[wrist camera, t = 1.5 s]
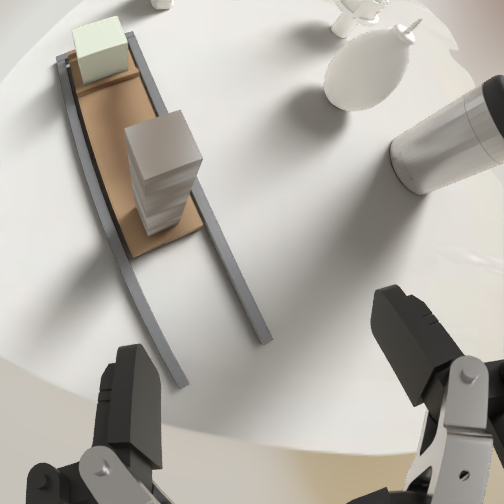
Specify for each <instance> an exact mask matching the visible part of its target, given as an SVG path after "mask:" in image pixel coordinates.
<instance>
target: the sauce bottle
mask: <svg viewBox="0 0 504 504" xmlns="http://www.w3.org/2000/svg"><path fill="white" fill-rule="evenodd" d="M421 20H422V19H419V20H417V21H416V22H415V23H413V24H412V25H411V26H410V27H408V28H406V27H404V26H403V25H400V24H397V25H395V26H394V28H379V29H375V30H372V31H369V32H366V33H364V34H362V35H360V36H357V37H356V38H354V39H352V40H351V41H349V42H348V43H346V44H345V45H344V46H343V47H342V48H341V49H340V50H339V51H338V52H337V53H336V54H335V56H334V57H333V58H332V60H331V61H330V63H329V65H328V68H327V70H326V73H325V78H324V91H325V94H326V96H327V98H328V99H329V101H330V102H331V103H332V104H333V105H334V106H336V107H338V108H340V109H342V110H345V111H362V110H365V109H368V108H371V107H373V106H375V105H377V104H379V103H380V102H382V101H383V100H384V99H385V98H386V97H388V96H389V95H390V94H391V93H392V92H393V91H394V89H395V88H396V87H397V85H398V84H399V83H400V81H401V79H402V77H403V75H404V73H405V71H406V69H407V66H408V64H409V60H410V56H411V45H413V44H414V42H415V38H414V36H413V34H412V33H411V31H412V30H413V29H414V28H415V27H416V26H417V25H418V24H419V23H420V22H421Z"/></svg>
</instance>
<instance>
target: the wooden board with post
mask: <svg viewBox="0 0 504 504" xmlns="http://www.w3.org/2000/svg"><path fill="white" fill-rule="evenodd" d="M67 54H68V59H69V63H70V68H71V72H72V76H73V81H74V85H75V89H76V93H77V97H78V100H79V104H80V108H81V112H82V115H83V119H84V122H85V126H86V129H87V133H88V136H89V139H90V142H91V146H92V149H93V152H94V155H95V158H96V161H97V164H98V167H99V170H100V173H101V176H102V179H103V182H104V185H105V188H106V191H107V193H108V196H109V199H110V202H111V204H112V207H113V210H114V212H115V215H116V217H117V220H118V223H119V225H120V228H121V230H122V233H123V235H124V238H125V240H126V243H127V245H128V247H129V250H130V252H131V255H132V257H133V258H135V257H137V256H140V255H142V254H144V253H146V252H148V251H151V250H153V249H155V248H157V247H160V246H162V245H164V244H166V243H169V242H171V241H173V240H175V239H178V238H180V237H182V236H185V235H187V234H189V233H192V232H194V231H196V230H198V229H201V228H202V226H203V223H202V220H201V218H200V216H199V214H198V212H197V209H196V207H195V205H194V203H193V201H192V198H191V196H190V191H191V188H192V186H193V183H194V180H195V178H196V175H197V173H198V170H199V167H200V165H201V162H202V160H203V157H202V155H201V153H200V151H199V149H198V146H197V144H196V142H195V140H194V138H193V136H192V134H191V131H190V129H189V127H188V125H187V123H186V121H185V118H184V116H183V114H182V112H181V110H178V111H175V112H172V113H168V114H165V115H162V116H159V117H156V115H155V113H154V111H153V108H152V106H151V103H150V101H149V99H148V96H147V94H146V91H145V89H144V86H143V84H142V81H141V79H140V77H139V69H138V68H136V67H135V64H134V62H133V59H132V57H131V54H130V52H129V49H128V71H127V72H123V73H120V74H117V75H114V76H111V77H108V78H105V79H103V80H100V81H97V82H94V83H91V84H89V85H86V86H84V83H83V79H82V76H81V72H80V68H79V64H78V60H77V55H76V50H72V51H70V52H67Z"/></svg>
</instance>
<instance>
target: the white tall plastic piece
mask: <svg viewBox="0 0 504 504" xmlns="http://www.w3.org/2000/svg"><path fill="white" fill-rule="evenodd" d="M389 1H390V0H336V5H337V6H338V8H339V9H340V10H341V12H342V13H341V15H340V16H339V17H338V19H337V20H336V21H335V23H334V24H333V25H332V26H331V30H332V32H333V33H334V34H335V35H337V36H339V37H341V38H346V37H347V36H348V35H349V33H350V32H351V31H352V30H353V29H354V28H355V27H356V26H357V24H360V25H363V26H366V27H372V26H374V25H375V24H376V23H377V22H378V15H377V14H378V13H379V12H380V11H381V10H382V9H383V8H384V7H385V6H386V5H387V4H388V3H389Z"/></svg>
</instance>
